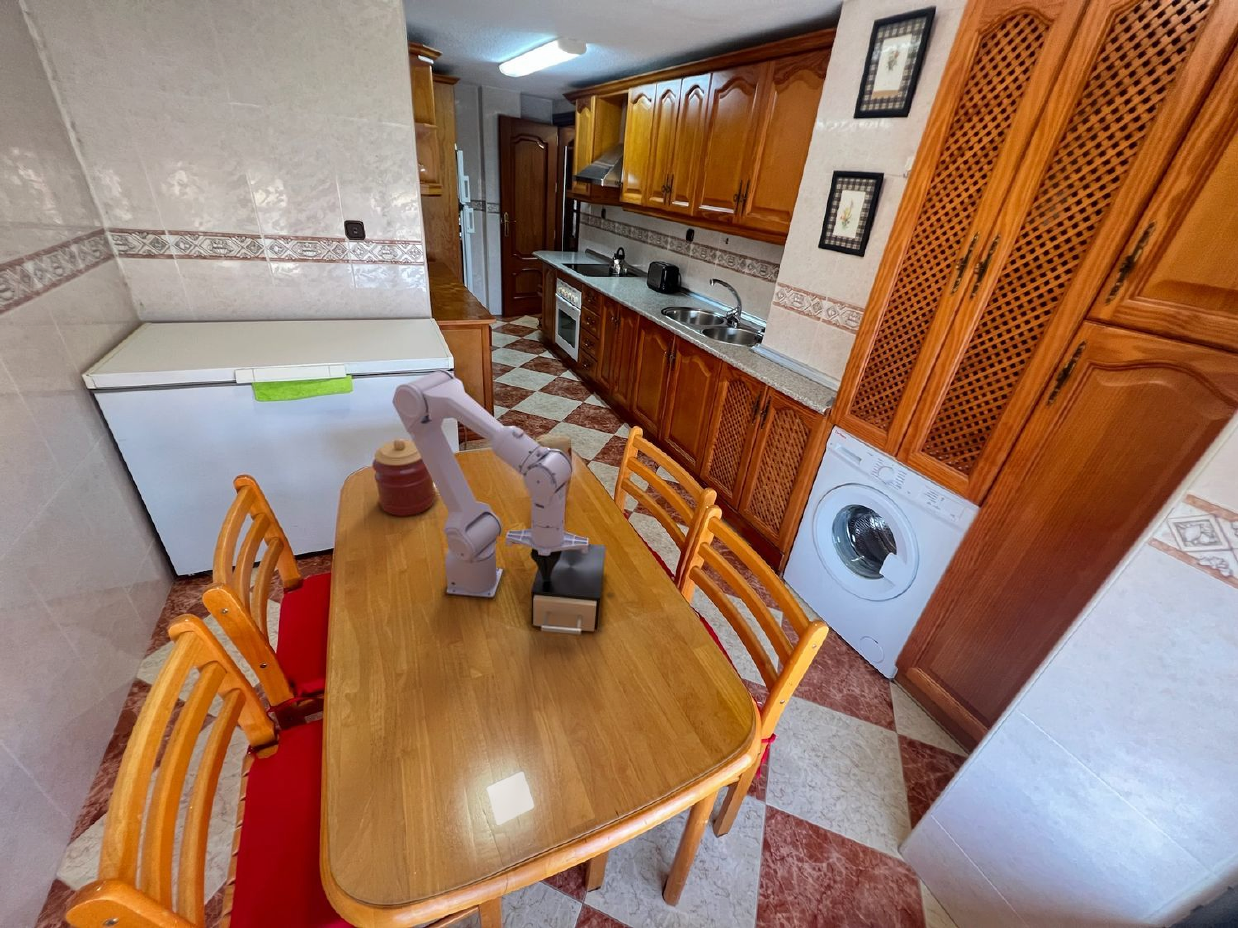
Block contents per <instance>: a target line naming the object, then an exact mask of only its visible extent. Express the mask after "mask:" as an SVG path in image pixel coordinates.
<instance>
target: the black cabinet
mask: <svg viewBox="0 0 1238 928" xmlns="http://www.w3.org/2000/svg"><path fill="white" fill-rule="evenodd" d="M606 547H607V546H606V545H603V544H602V545H601V544H591V543H589V544H588V552H587V553H582V552H581V550H572V549H569V550H562V553H561V557H560V559H559V561H558V562H557V564H556V565H555V566H554V568H553V570H552V574H551V578H550V580H543V579H542V575H541V572H540V570H539V567H538V566H537V569H536V573H535V576H534V580H533V583H532V588H531V592H530V593H531V596H530V597H531V602H530V603H531V606H530V607H531V609H530V610H531V624H533V599H534V595H548V596H558V597H568V598H578V599H589V600H594V601H597V603H596V614H595V626H594V631H597V630H598V627H599V617H600V610H601V600H602V599H601V598H602V590H603V589H602V588H603V581H604V570H605V560H606Z"/></svg>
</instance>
